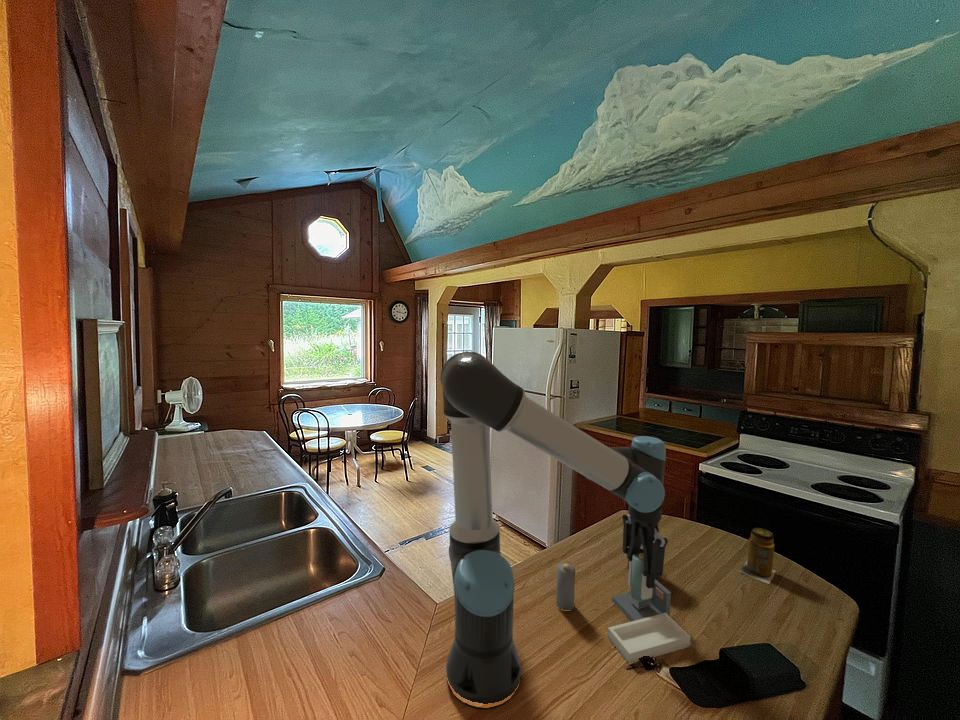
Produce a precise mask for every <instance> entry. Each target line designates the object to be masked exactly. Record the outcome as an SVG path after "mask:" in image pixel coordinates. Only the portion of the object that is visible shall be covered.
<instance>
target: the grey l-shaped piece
mask: <svg viewBox="0 0 960 720" xmlns="http://www.w3.org/2000/svg"><path fill="white" fill-rule="evenodd" d="M630 593H631V591H630V592H626V593H621V594H617V595H613V596H612V598H611V601H612V602H613V604H615V606H616V607H617V606H618V607H617V608H618V609H619V610H620V611H621V612H622V613H623V614H624V615H625V616H626V617H627V619H628V620H630V621H629V622H632V621H636V620H639V619H643V618H647V617H651V616H655V615H659V614H663V613H666V614H667V615H668V616H669V617H670V614H671V602H672V601H671V600H672V592H671V591H670V590H669V589H668V588H666V586H664V585H663V584H662V583H660V582H659V581H658V579H657V580H656V579H655V584H654V588H653V592H652V598H651V606H650V607H646V608H642V609H638V608H637V607H636V606H635V605H634V604H633V603H632V602H631V601H630ZM670 618H671V617H670Z"/></svg>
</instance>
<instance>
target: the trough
mask: <svg viewBox="0 0 960 720" xmlns="http://www.w3.org/2000/svg"><path fill="white" fill-rule="evenodd" d="M608 638H609V639H608ZM607 639H608V640H609V642H610V641H611V642H612V643H613V644H612V643H611V642H610V643H611V644H612V645H613V647H614V648H615V647H616V648H615V650H617V652H618V653H619V654H620V655H621V656H622V658H623V659H624V661H626V663H627V662H628V663H632V662H635V661H637V660H638V659H639V658H641V657H643V656H654V657H653V658H655V657H660V656H662V655H666V654H669V653H673V652H676V651H680V650H683V649H686V648H690V647H691V635H690V634H689V633H688V632H686V630H685V629H684V628H682V627H681V625H679V624H678V623H677V622H676V621H675V620H674V619H673V618H672V617H669V616H668V615H667V614H666V613H663V614H659V615H655V616H651V617H647V618H643V619H639V620H636V621H632V622H631V621H628V622H624V623H621V624H617V625H613V626H609V627H607ZM628 663H627V664H628Z"/></svg>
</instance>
